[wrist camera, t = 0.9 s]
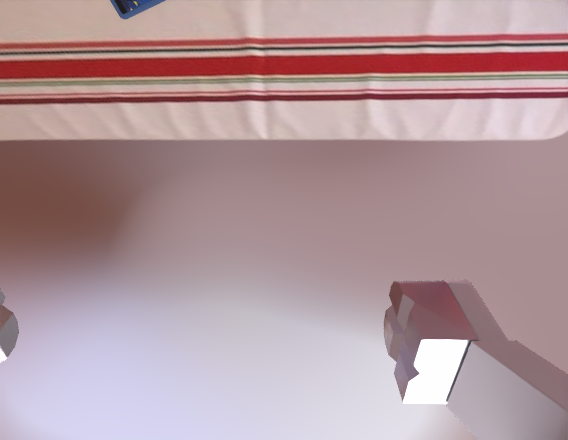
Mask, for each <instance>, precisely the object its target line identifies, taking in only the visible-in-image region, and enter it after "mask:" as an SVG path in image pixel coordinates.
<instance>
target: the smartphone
mask: <svg viewBox="0 0 568 440" xmlns="http://www.w3.org/2000/svg"><path fill="white" fill-rule="evenodd" d="M110 1H111V2H112V4H113V6H114V8H115V9H116V11H117V13H118V14H119V16H120V17H121V18H122V19H128V18H130V17H132V16H134V15H136V14H138V13H140V12H142V11H145V10H147V9H149V8H151V7H153V6H155V5H157V4H159V3H161V2H163V1H165V0H110Z"/></svg>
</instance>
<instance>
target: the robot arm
mask: <svg viewBox="0 0 568 440" xmlns="http://www.w3.org/2000/svg"><path fill="white" fill-rule="evenodd" d="M389 296H390V299H391V302H392V306H391V307H389V308H388V309H387V310H386V313H385V319H384V337H385V343H386V347H387V351H388V354H389V356H391V357H392V358H393V359H394V360H395V361H396V362H397V364H396V368H395V372H394V375H395V378H396V381H397V384H398V387H399V391H400V394H401V397H402V400H403V403H437V404H439V403H441V404H446V406H447V407H448V408H449V410H450V411H451V412H452V413H453V414H454V415H455V416H456V417H457V418H458V419H459V420H460V421H461V422H462V423H463V424H464V425H465V426H466V428H467V429H468V430H469V431H470V432H471V433H472V434H473V435H474V436H475V437H476V438H477V439H478V440H568V374H567V373H565V372H564V371H562V370H560V369H559V368H557V367H556V366H554V365H553V364H551V363H550V362H548V361H547V360H545V359H544V358H542V357H541V356H539V355H537V354H536V353H535V352H533V351H531V350H530V349H528V348H527V347H525V346H524V345H522V344H521V343H519V342H518V341H509V340H508V339H507V337H506V336H505V334H504V333H503V331H502V330H501V328H500V327H499V325H498V323H497V322H496V321H495V319H494V317H493V316H492V314H491V313H490V311H489V310H488V308H487V307H486V305H485V303H484V302H483V300H482V299H481V297H480V296H479V294H478V293H477V291H476V290H475V288H474V286H473V285H472V283H471V282H469V281H468V280H465V279H464V280H442V281H439V280H437V281H394V282H393V284H392V285H391V289H390V293H389ZM4 300H5V295H4V294H3V292H2V290H1V288H0V363H1V362H2V361H4V360H5V359H7V358H8V356H9V355H10V353H11V352H12V350H13V349H14V347H15V345H16V341H17V337H18V334H19V329H18V322H17V319H16V317H15V315H14V313H13V312H11V311H10V310H8V309H7V308H5V307H4V306H2V304H3V302H4Z"/></svg>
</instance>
